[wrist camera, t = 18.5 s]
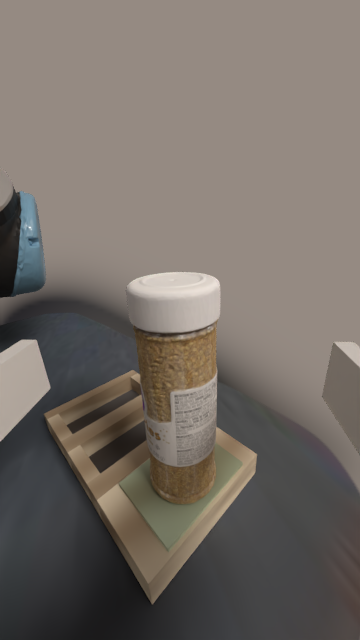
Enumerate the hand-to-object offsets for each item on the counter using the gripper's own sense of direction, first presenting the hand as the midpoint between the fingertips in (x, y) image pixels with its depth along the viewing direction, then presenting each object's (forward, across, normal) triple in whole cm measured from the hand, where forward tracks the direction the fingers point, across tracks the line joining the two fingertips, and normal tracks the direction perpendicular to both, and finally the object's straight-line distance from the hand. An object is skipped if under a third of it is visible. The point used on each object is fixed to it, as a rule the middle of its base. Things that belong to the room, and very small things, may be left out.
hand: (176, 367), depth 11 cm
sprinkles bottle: (+2, 0, -10) cm, 10 cm away
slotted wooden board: (+6, -4, -12) cm, 14 cm away
